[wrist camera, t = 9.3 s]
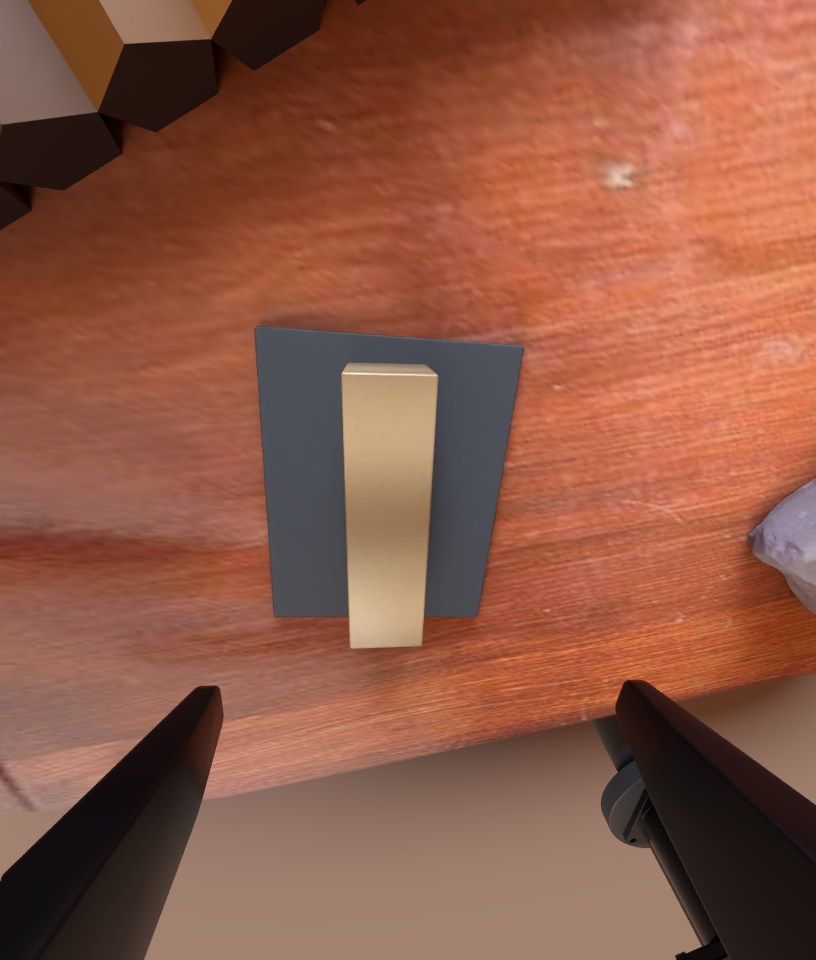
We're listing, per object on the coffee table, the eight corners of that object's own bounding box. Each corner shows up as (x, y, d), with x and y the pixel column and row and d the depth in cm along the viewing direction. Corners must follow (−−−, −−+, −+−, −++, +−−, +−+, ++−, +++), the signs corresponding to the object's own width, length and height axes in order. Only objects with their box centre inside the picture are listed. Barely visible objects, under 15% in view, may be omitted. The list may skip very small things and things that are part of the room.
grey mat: (474, 609, 20) (477, 617, 20) (276, 609, 19) (273, 617, 19) (519, 345, 16) (525, 346, 15) (258, 325, 14) (253, 326, 14)
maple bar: (415, 599, 19) (422, 647, 16) (353, 601, 19) (349, 649, 16) (426, 364, 15) (439, 374, 12) (347, 362, 15) (340, 372, 12)
